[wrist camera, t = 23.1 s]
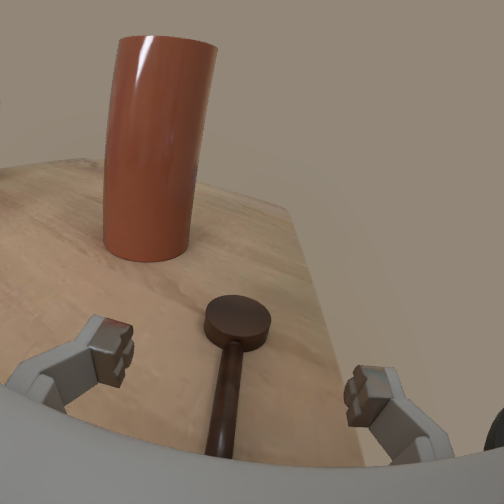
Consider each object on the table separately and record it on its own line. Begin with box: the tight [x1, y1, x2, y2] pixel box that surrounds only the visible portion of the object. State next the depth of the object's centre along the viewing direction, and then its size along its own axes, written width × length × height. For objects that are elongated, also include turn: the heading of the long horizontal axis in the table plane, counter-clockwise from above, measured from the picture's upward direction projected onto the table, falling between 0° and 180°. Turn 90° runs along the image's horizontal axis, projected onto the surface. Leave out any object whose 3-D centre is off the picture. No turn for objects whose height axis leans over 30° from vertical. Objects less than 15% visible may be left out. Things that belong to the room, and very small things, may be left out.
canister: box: [103, 36, 218, 262], centre depth 34 cm, size 11×11×24 cm
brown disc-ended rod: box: [204, 295, 271, 459], centre depth 21 cm, size 21×6×2 cm, turn 177°
